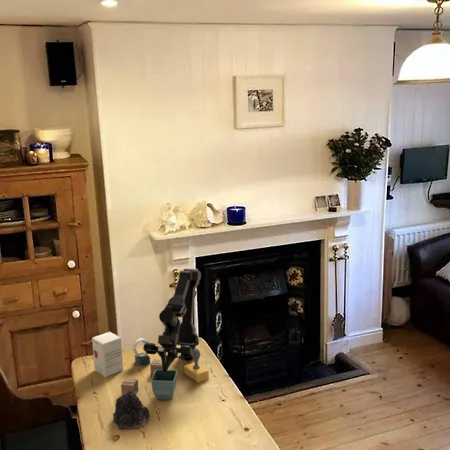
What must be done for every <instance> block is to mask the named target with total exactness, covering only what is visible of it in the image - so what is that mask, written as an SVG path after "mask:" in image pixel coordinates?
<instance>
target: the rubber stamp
mask: <svg viewBox="0 0 450 450" xmlns="http://www.w3.org/2000/svg"><path fill="white" fill-rule="evenodd" d="M200 357H201V352H200V350H199V349H198V348H196V349H193V357H192V358H193V359H192V361H193V362H190V363H188V364H185V365H183V366H184V367H183V369H184V371H183V373H184V374H186V376H188V377H189V378H190V379H192V381H193V380H194V381H195V382H196V383H201V382H203V381H207V380H209V378H210V377H209V376H210V375H209V370H208V369H207V368H205V367H204V366H202V365H201V364H200V363H199V360H200Z"/></svg>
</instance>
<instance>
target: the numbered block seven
mask: <svg viewBox="0 0 450 450" xmlns="http://www.w3.org/2000/svg"><path fill="white" fill-rule="evenodd" d="M149 366H150V367H149V368H150V370H149V371H150V376H151V377H153V374H154V372H155V370H163V367H162V360H161V358H160V359H159V358H153V360H152V361H151V362H150V365H149Z"/></svg>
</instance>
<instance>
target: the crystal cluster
mask: <svg viewBox="0 0 450 450" xmlns="http://www.w3.org/2000/svg"><path fill="white" fill-rule="evenodd" d="M115 401H116V402H115V407H114V408H115V409H114V413H113V421H112V423H113V424H114V427H115V428H117V430H118V429H139V428H141V427H143V426H145V425H146V424H147V423H148V422H149V420H150V417H151V414H150V411H149V408H148V406H147V407H146V406H144V404H143V403H142V401H141V400H140V398H139V396H138V395H137V394H136V395H135V394H134V393H133V392H132V391H128V392H127V393H126V394H124V395H123V396H122V395H121V396H119V397H118V398H116V400H115Z"/></svg>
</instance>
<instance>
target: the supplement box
mask: <svg viewBox="0 0 450 450" xmlns="http://www.w3.org/2000/svg"><path fill="white" fill-rule="evenodd" d="M91 343H92V353H93V364H94V366H93V367H94V371H96V372H97V373H99V375H102V376H103V377H104V378H107V377H110V376H112V375H114V374H117V373H119V372H122V371H124V364H123V360H124V359H123V351H122V350H123V349H122V347H123V346H122V337H120V336H118V335H117V334H116V333H113V332H111V331H107V332H105V333H103V334H100V335H96V336H95V335H94V336H93V337H91Z"/></svg>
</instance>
